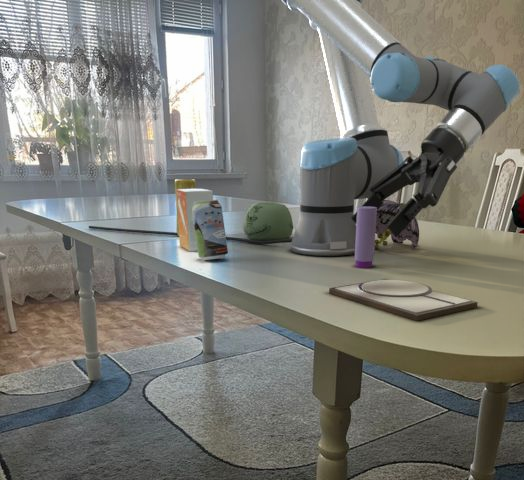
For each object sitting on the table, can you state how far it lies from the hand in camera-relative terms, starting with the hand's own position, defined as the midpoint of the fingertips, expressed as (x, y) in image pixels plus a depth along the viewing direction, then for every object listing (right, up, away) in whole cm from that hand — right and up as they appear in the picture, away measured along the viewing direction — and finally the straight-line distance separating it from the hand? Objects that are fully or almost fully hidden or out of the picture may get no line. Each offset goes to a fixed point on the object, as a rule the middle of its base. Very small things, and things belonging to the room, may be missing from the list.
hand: (372, 227), depth 102 cm
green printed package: (-31, -5, +10) cm, 33 cm away
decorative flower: (+9, 0, +23) cm, 24 cm away
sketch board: (0, -16, -22) cm, 27 cm away
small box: (-36, 0, +24) cm, 43 cm away
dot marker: (-1, -7, +2) cm, 7 cm away
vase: (-41, +7, +44) cm, 60 cm away
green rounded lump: (-20, +6, +39) cm, 44 cm away
